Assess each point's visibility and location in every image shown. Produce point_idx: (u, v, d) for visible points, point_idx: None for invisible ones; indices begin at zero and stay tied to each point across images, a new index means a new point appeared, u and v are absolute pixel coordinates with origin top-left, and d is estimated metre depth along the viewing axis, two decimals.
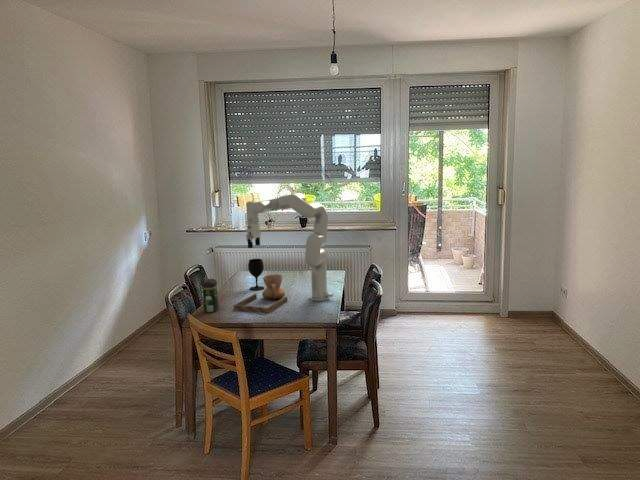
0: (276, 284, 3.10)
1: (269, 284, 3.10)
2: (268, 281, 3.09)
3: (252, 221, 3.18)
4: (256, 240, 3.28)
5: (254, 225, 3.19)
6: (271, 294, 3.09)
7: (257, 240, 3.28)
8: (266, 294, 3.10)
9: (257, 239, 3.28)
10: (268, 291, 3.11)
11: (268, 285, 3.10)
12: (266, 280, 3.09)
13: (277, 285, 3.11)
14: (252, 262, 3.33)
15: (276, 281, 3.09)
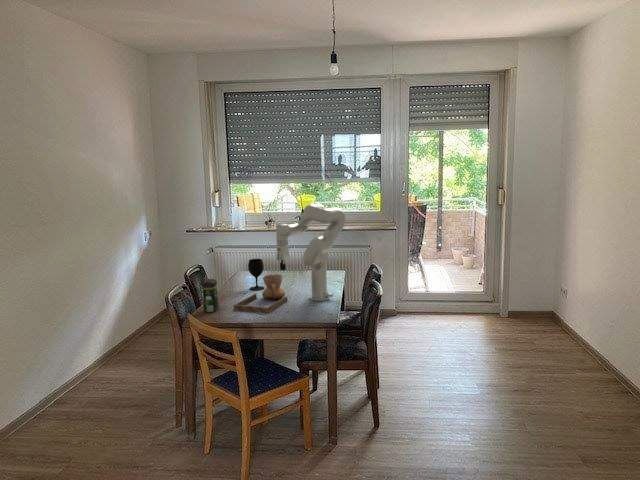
0: (276, 284, 3.10)
1: (269, 284, 3.10)
2: (268, 281, 3.09)
3: (282, 243, 3.21)
4: None
5: (284, 247, 3.22)
6: (271, 294, 3.09)
7: None
8: (266, 294, 3.10)
9: None
10: (268, 291, 3.11)
11: (268, 285, 3.10)
12: (266, 280, 3.09)
13: (277, 285, 3.11)
14: (252, 262, 3.33)
15: (276, 281, 3.09)
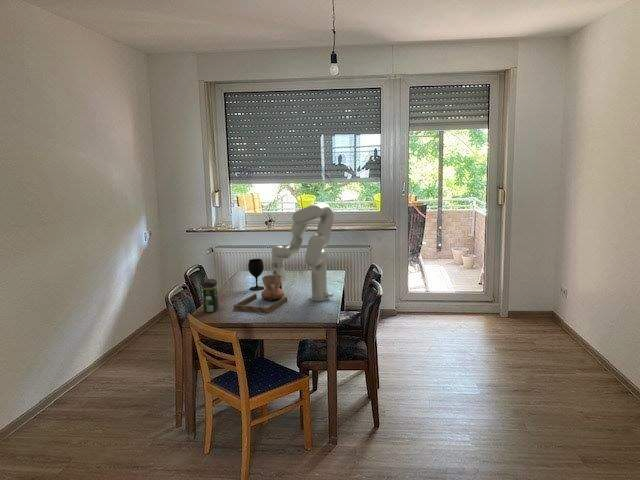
0: (275, 284, 3.09)
1: (268, 284, 3.08)
2: (267, 281, 3.08)
3: (278, 266, 3.16)
4: None
5: (280, 270, 3.17)
6: (270, 294, 3.08)
7: (279, 287, 3.23)
8: (265, 295, 3.09)
9: (279, 286, 3.23)
10: (267, 292, 3.10)
11: (267, 285, 3.09)
12: (265, 280, 3.08)
13: (276, 285, 3.10)
14: (252, 262, 3.33)
15: (275, 281, 3.08)
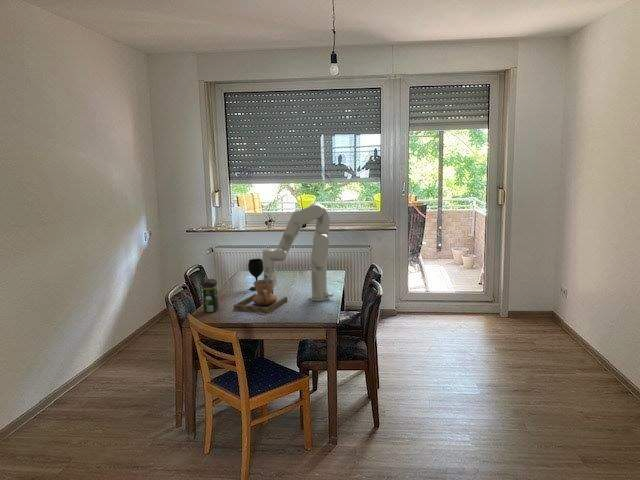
0: (268, 289, 2.97)
1: (260, 289, 2.97)
2: (259, 286, 2.96)
3: (269, 270, 3.05)
4: None
5: (271, 274, 3.06)
6: (262, 300, 2.96)
7: None
8: (257, 300, 2.97)
9: None
10: (260, 297, 2.98)
11: (259, 291, 2.98)
12: (257, 285, 2.96)
13: (269, 291, 2.98)
14: (252, 262, 3.33)
15: (268, 286, 2.97)
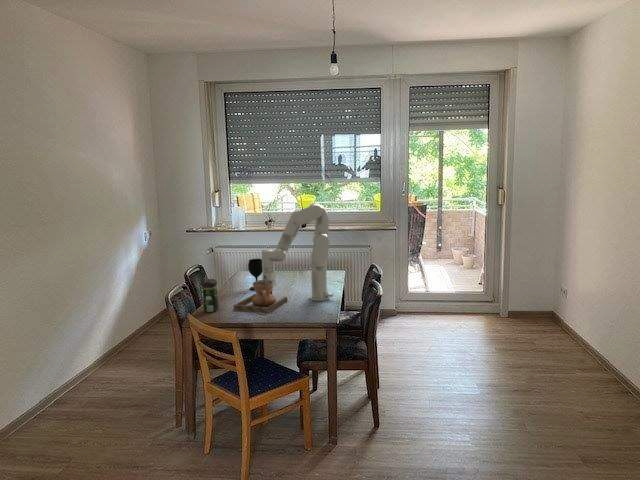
0: (267, 290, 2.96)
1: (259, 290, 2.96)
2: (258, 287, 2.95)
3: (268, 271, 3.04)
4: None
5: (270, 275, 3.05)
6: (261, 301, 2.95)
7: None
8: (256, 301, 2.96)
9: None
10: (259, 298, 2.97)
11: (258, 291, 2.96)
12: (256, 286, 2.95)
13: (268, 291, 2.97)
14: (252, 262, 3.33)
15: (267, 287, 2.95)
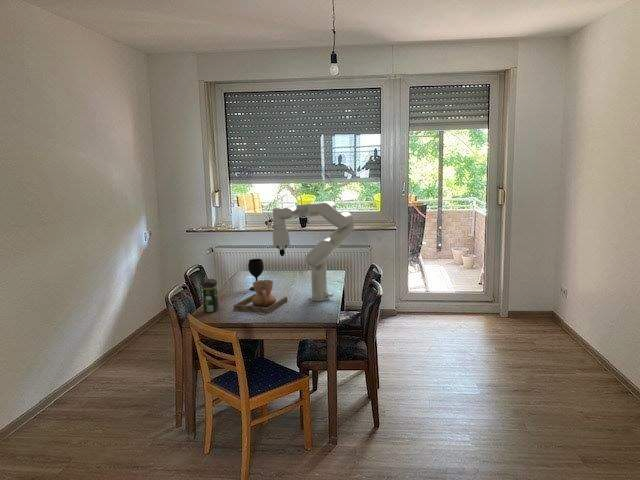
0: (267, 290, 2.96)
1: (259, 290, 2.96)
2: (258, 287, 2.95)
3: (275, 228, 3.12)
4: None
5: (276, 232, 3.11)
6: (261, 301, 2.95)
7: None
8: (256, 301, 2.96)
9: None
10: (259, 298, 2.97)
11: (258, 291, 2.96)
12: (256, 286, 2.95)
13: (268, 291, 2.97)
14: (252, 262, 3.33)
15: (267, 287, 2.95)
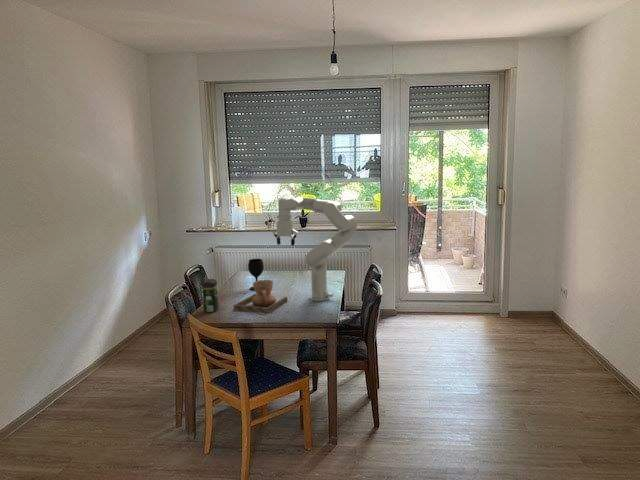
0: (267, 290, 2.96)
1: (259, 290, 2.96)
2: (258, 287, 2.95)
3: None
4: None
5: (279, 222, 3.12)
6: (261, 301, 2.95)
7: None
8: (256, 301, 2.96)
9: None
10: (258, 298, 2.97)
11: (258, 291, 2.96)
12: (256, 286, 2.95)
13: (268, 291, 2.97)
14: (252, 262, 3.33)
15: (267, 287, 2.95)
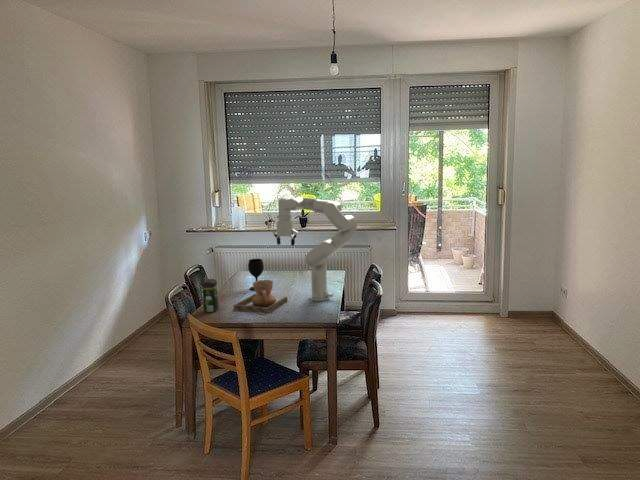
0: (267, 290, 2.96)
1: (259, 290, 2.96)
2: (258, 287, 2.95)
3: None
4: None
5: (279, 222, 3.12)
6: (261, 301, 2.95)
7: None
8: (256, 301, 2.96)
9: None
10: (259, 298, 2.97)
11: (258, 291, 2.96)
12: (256, 286, 2.95)
13: (268, 291, 2.97)
14: (252, 262, 3.33)
15: (267, 287, 2.95)
